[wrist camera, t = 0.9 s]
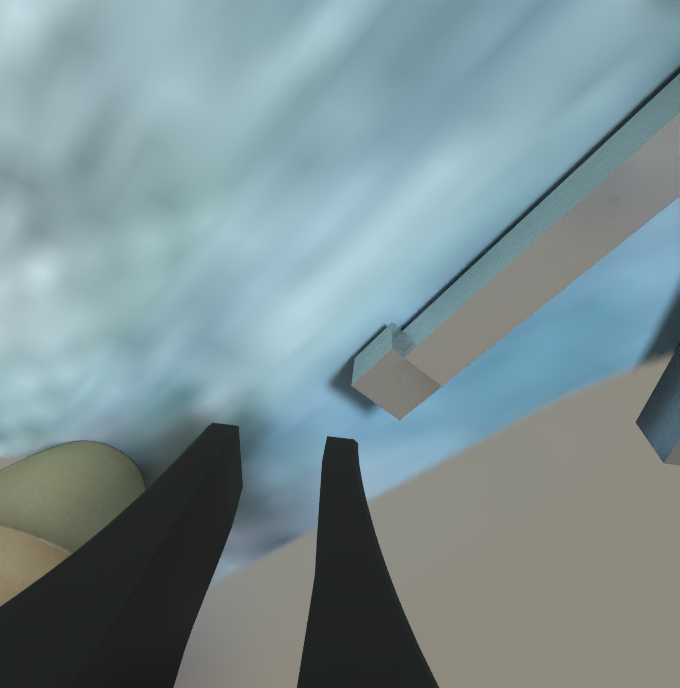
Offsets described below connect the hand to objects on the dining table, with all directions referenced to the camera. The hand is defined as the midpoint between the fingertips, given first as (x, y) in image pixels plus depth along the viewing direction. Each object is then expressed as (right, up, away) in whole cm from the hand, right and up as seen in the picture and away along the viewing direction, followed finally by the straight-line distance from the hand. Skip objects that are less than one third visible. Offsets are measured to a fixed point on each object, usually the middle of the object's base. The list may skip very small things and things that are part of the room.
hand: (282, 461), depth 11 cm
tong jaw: (+8, +6, +6) cm, 12 cm away
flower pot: (-12, -5, +16) cm, 20 cm away
